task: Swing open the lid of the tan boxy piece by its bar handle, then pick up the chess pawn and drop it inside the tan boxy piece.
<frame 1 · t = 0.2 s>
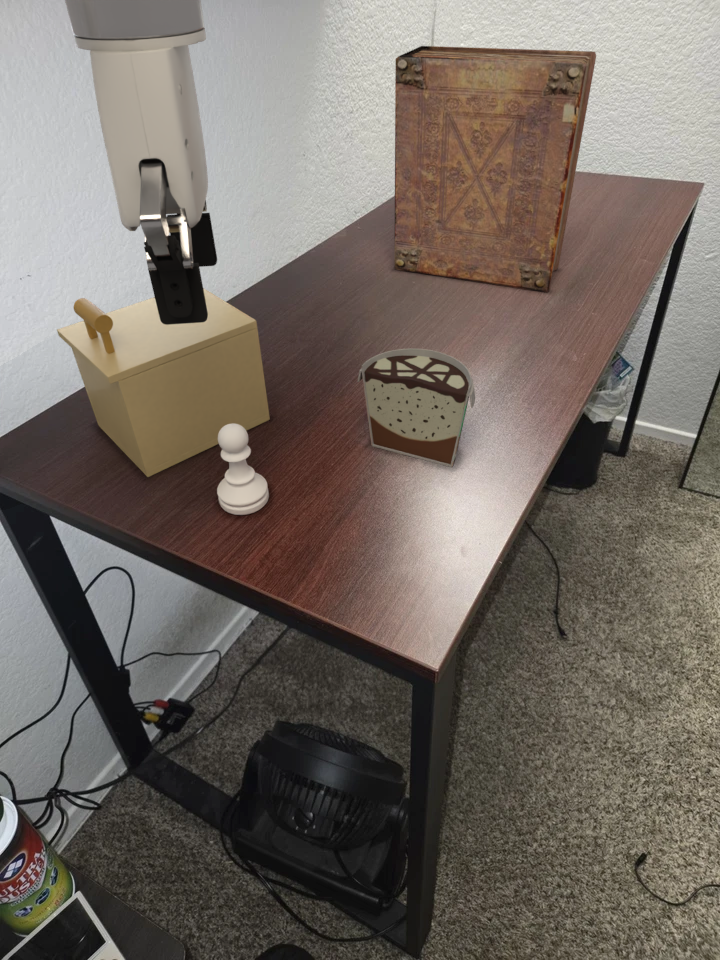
hand: (191, 291, 49), 23 cm above the table, tool pointing down, fingers open, 9 cm apart
tan boxy piece: (184, 422, 77), on the table
chess pawn: (244, 500, 66), on the table
food container: (421, 442, 73), on the table
lid: (153, 310, 67), point 14 cm above the table, hinge at 0.0°
book: (475, 271, 108), on the table
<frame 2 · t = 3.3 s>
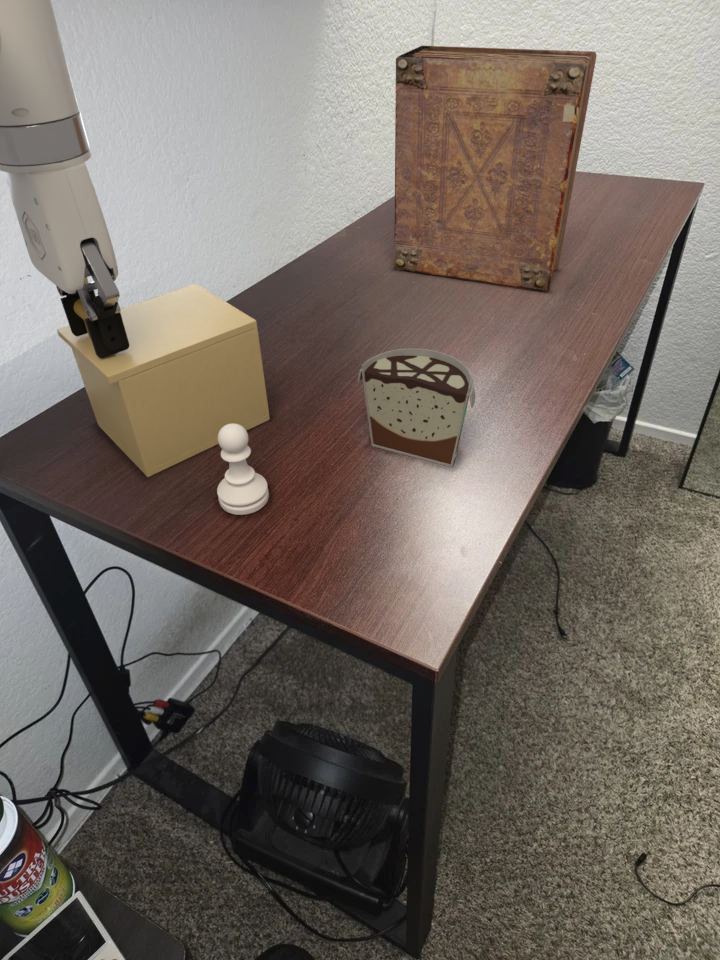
hand: (100, 339, 65), 13 cm above the table, tool pointing down, fingers closed on lid, 5 cm apart
lid: (153, 310, 67), point 14 cm above the table, hinge at 0.0°, touching gripper
everything else where it was.
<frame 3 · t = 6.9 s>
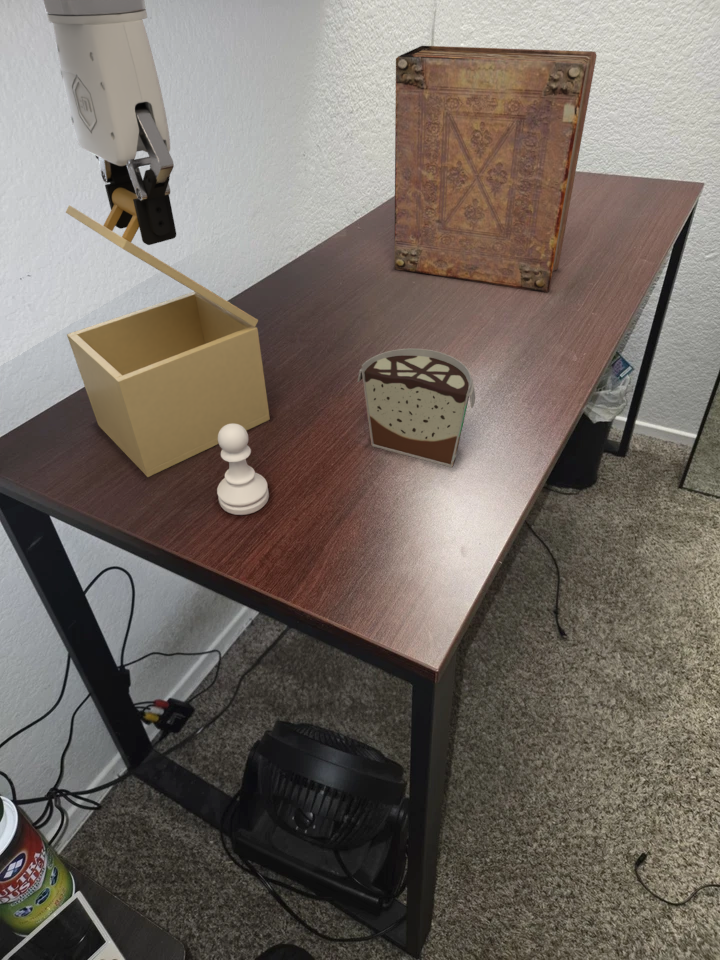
hand: (145, 230, 63), 22 cm above the table, tool pointing down, fingers closed on lid, 5 cm apart
lid: (175, 250, 66), point 19 cm above the table, hinge at 44.5°, touching gripper
everything else where it was.
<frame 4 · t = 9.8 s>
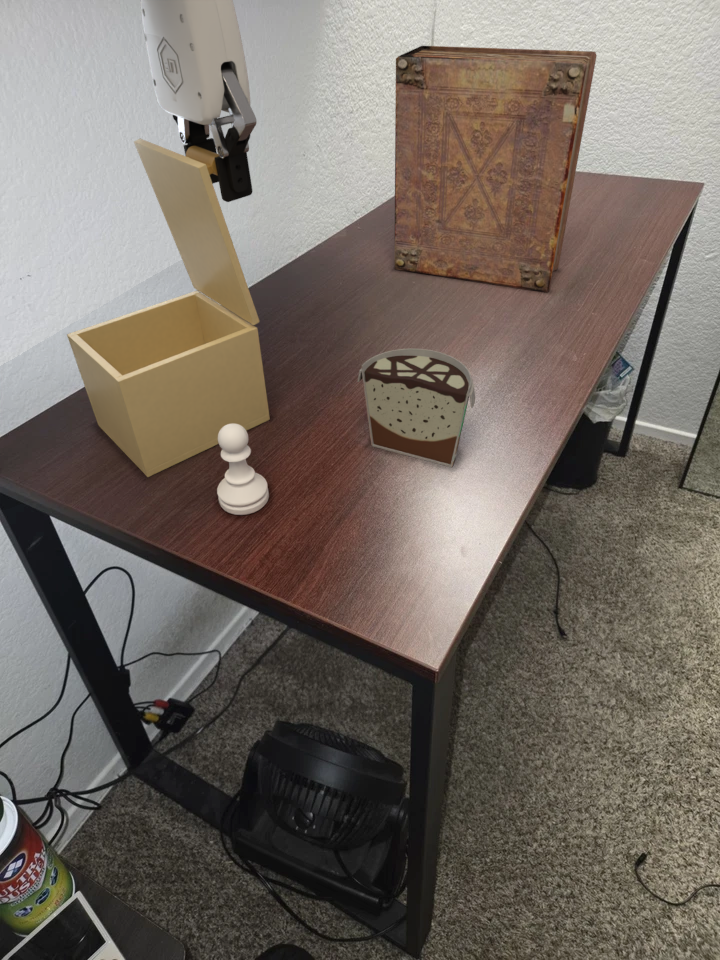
hand: (221, 188, 66), 24 cm above the table, tool pointing down, fingers closed on lid, 5 cm apart
lid: (215, 226, 67), point 21 cm above the table, hinge at 78.5°, touching gripper
everything else where it was.
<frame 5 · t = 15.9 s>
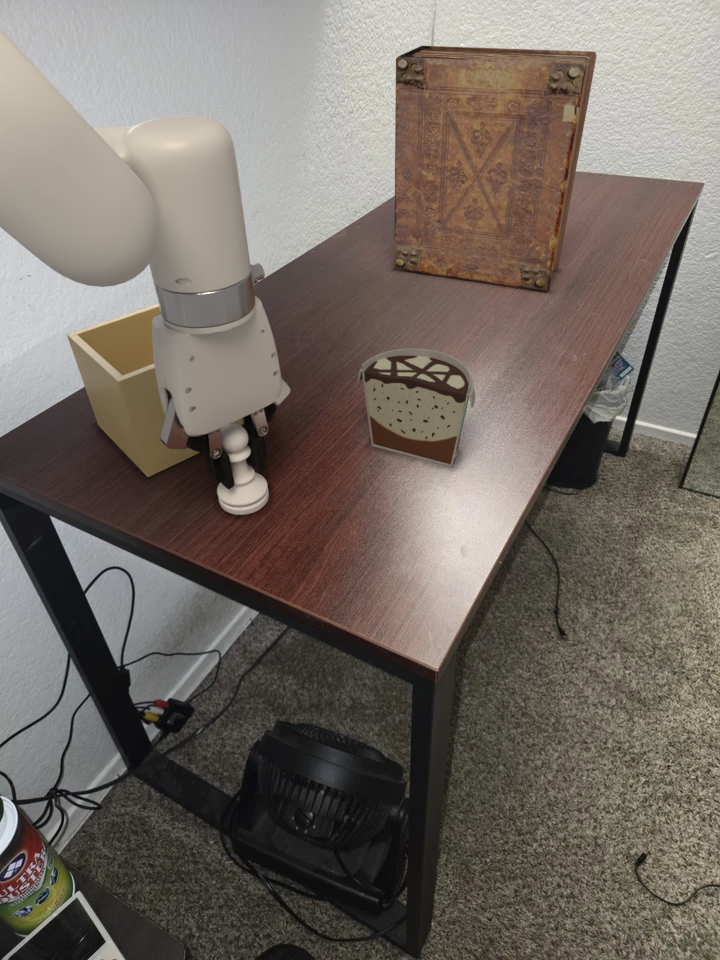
hand: (239, 471, 64), 4 cm above the table, tool pointing down, fingers closed on chess pawn, 3 cm apart
chess pawn: (244, 500, 66), on the table, touching gripper
lid: (215, 226, 67), point 21 cm above the table, hinge at 78.7°
everything else where it was.
when the fingers open (13 cm above the table, at t = 22.2 s): chess pawn drops 6 cm, resting on tan boxy piece.
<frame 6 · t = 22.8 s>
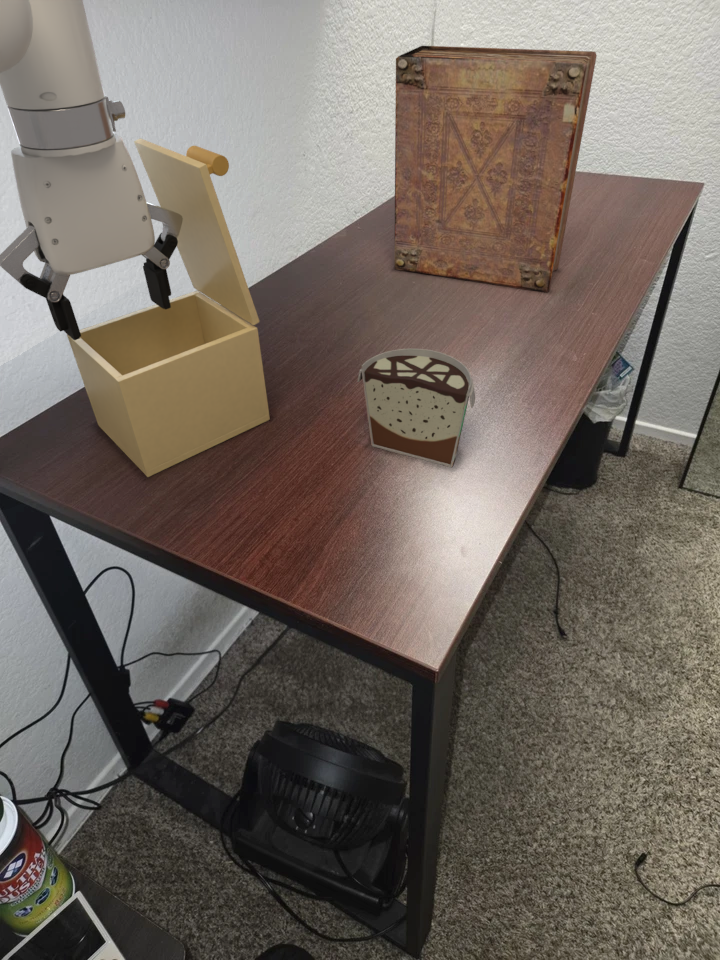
hand: (118, 318, 65), 15 cm above the table, tool pointing down, fingers open, 9 cm apart
chess pawn: (158, 403, 74), point 3 cm above the table, touching tan boxy piece
everything else where it was.
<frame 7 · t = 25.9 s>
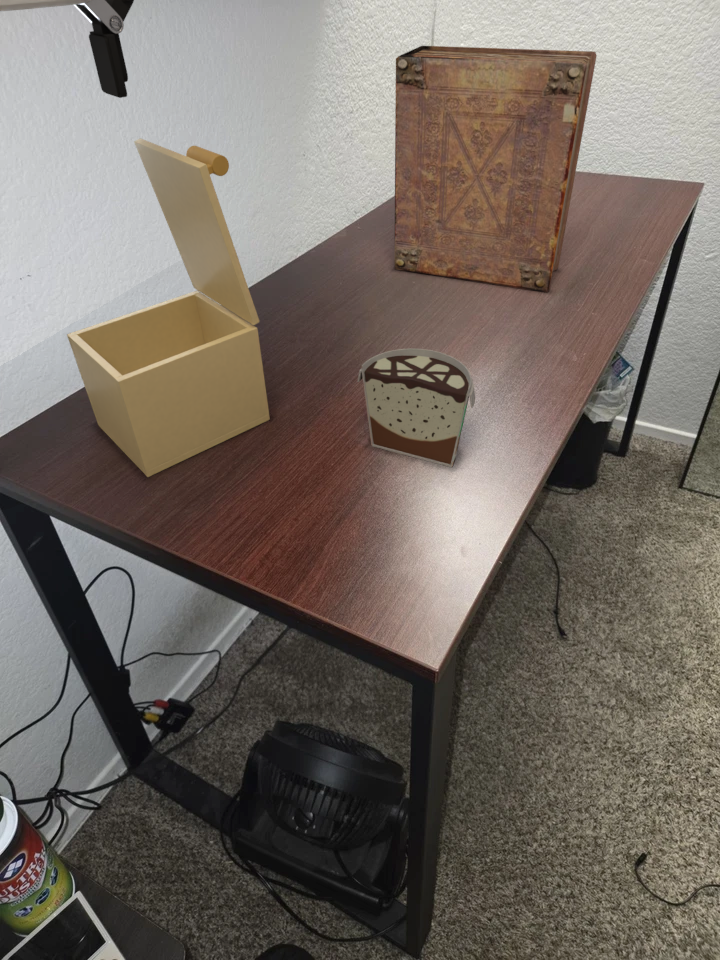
hand: (53, 105, 48), 34 cm above the table, tool pointing down, fingers open, 9 cm apart
nothing on the table moved.
at the end: lid at +79° (first picture: +0°); chess pawn inside the target area in the tan boxy piece (2.3 cm from its centre), point 3.4 cm above the tan boxy piece's base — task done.
